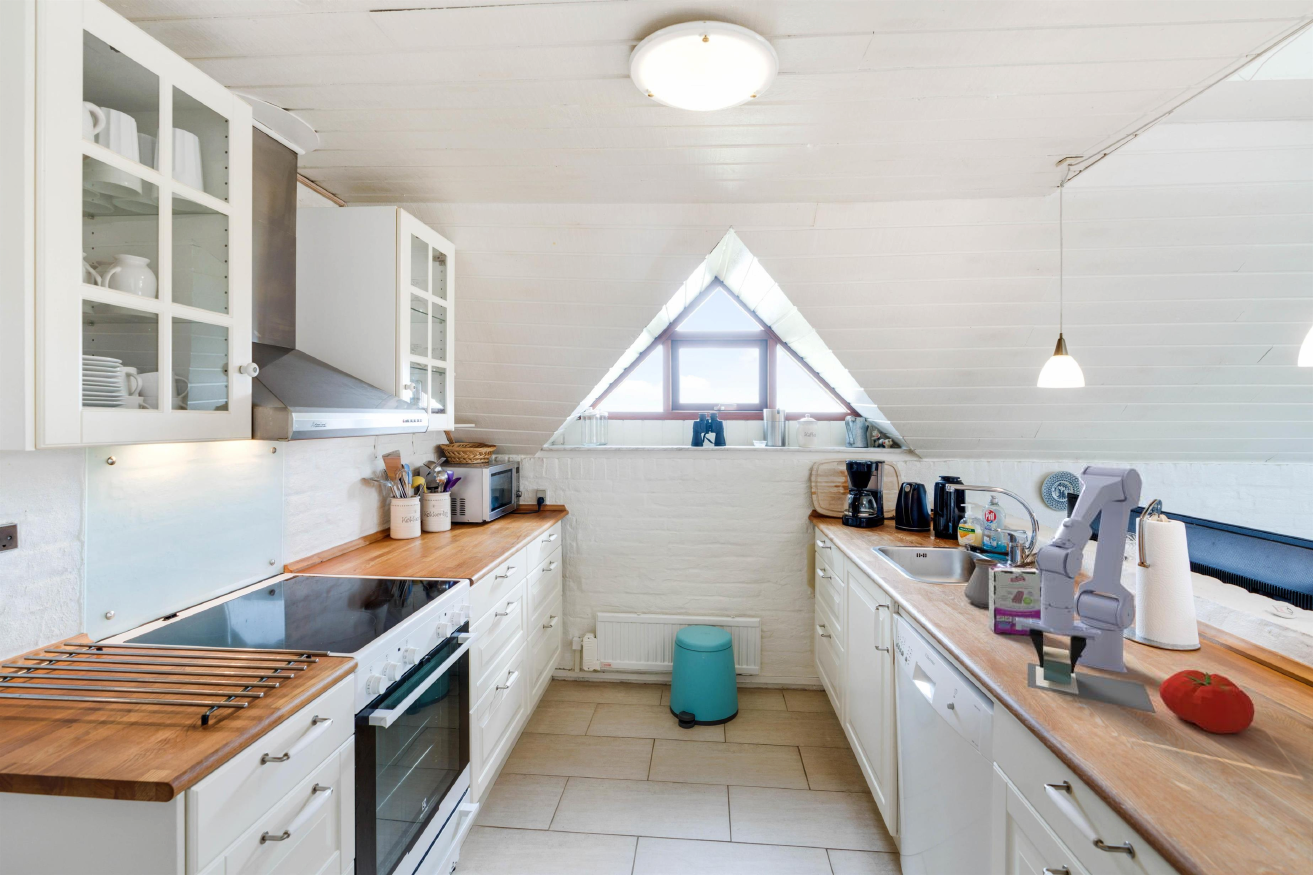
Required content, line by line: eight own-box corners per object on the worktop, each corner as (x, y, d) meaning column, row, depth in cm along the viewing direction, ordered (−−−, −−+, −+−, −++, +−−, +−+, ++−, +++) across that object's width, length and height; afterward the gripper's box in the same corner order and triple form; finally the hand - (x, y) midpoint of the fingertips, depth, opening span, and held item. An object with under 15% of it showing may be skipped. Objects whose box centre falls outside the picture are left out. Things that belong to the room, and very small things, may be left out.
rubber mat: (1027, 688, 118) (1027, 685, 118) (1027, 664, 130) (1027, 661, 130) (1155, 714, 108) (1155, 712, 107) (1143, 686, 119) (1143, 683, 119)
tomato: (1157, 700, 113) (1158, 657, 113) (1248, 721, 105) (1249, 674, 105) (1160, 727, 103) (1161, 679, 103) (1260, 752, 95) (1261, 700, 95)
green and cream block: (1042, 664, 126) (1043, 645, 126) (1068, 668, 124) (1068, 650, 124) (1043, 679, 119) (1043, 660, 119) (1070, 685, 116) (1071, 665, 116)
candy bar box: (1034, 630, 151) (1036, 567, 151) (1042, 637, 146) (1043, 572, 146) (987, 626, 154) (988, 565, 154) (993, 633, 149) (994, 569, 149)
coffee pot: (965, 606, 171) (966, 556, 170) (961, 596, 181) (962, 548, 181) (1051, 616, 163) (1052, 562, 162) (1042, 604, 173) (1043, 554, 173)
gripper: (1016, 603, 122) (1014, 667, 122) (1103, 615, 114) (1101, 684, 114) (1016, 594, 128) (1015, 656, 128) (1099, 606, 120) (1098, 671, 120)
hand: (1056, 668), depth 121 cm, fingers closed on green and cream block, 4 cm apart
